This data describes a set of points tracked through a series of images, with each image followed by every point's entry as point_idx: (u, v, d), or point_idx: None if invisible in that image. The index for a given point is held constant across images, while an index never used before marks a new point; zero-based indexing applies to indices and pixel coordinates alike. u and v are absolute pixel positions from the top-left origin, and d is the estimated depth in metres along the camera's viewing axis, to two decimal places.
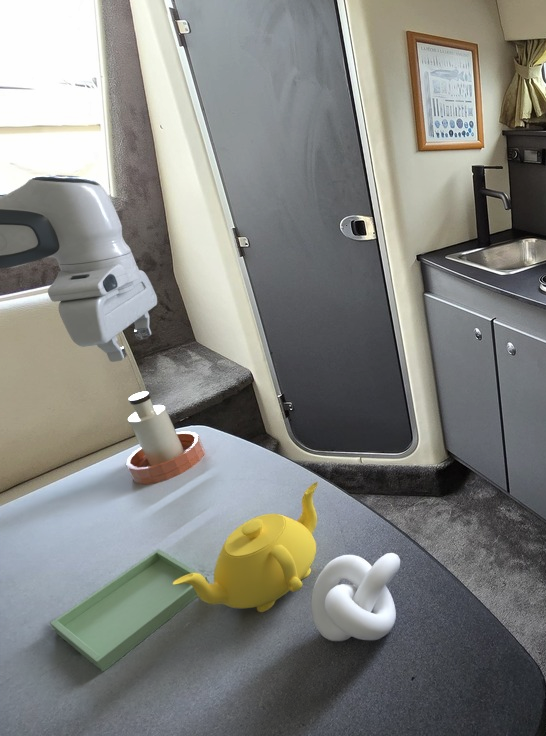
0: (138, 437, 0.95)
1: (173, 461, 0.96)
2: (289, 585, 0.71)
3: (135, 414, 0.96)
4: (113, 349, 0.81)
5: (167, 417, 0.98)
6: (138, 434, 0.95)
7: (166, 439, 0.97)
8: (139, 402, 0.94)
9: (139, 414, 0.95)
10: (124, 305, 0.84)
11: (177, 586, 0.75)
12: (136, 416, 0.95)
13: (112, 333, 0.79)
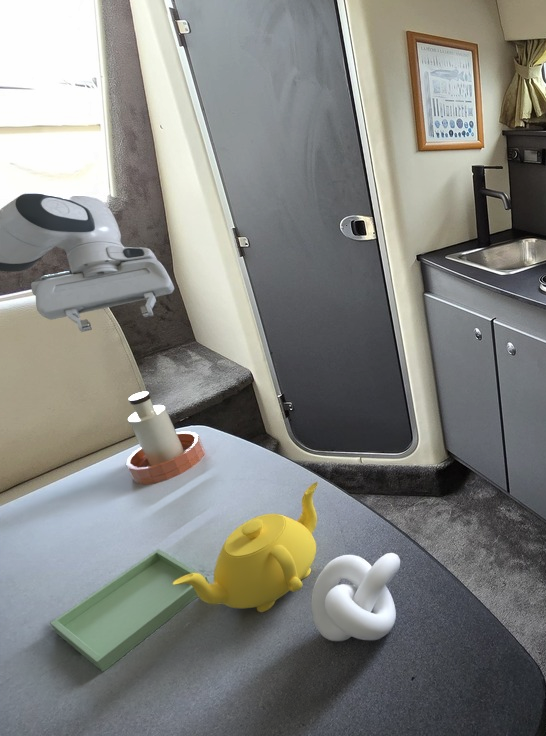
0: (138, 437, 0.95)
1: (173, 461, 0.96)
2: (289, 585, 0.71)
3: (135, 414, 0.96)
4: (152, 305, 1.03)
5: (167, 417, 0.98)
6: (138, 434, 0.95)
7: (166, 439, 0.97)
8: (139, 402, 0.94)
9: (139, 414, 0.95)
10: None
11: (177, 586, 0.75)
12: (136, 416, 0.95)
13: None
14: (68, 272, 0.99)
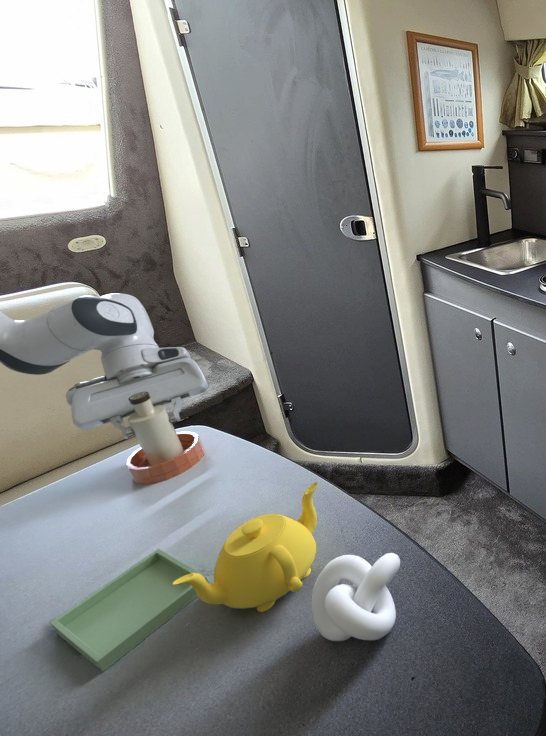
0: (138, 437, 0.95)
1: (173, 461, 0.96)
2: (289, 585, 0.71)
3: (135, 414, 0.96)
4: (179, 409, 1.01)
5: (167, 417, 0.98)
6: (138, 434, 0.95)
7: (165, 439, 0.97)
8: (139, 402, 0.94)
9: (139, 414, 0.95)
10: None
11: (177, 586, 0.75)
12: (136, 416, 0.95)
13: None
14: (103, 378, 0.97)
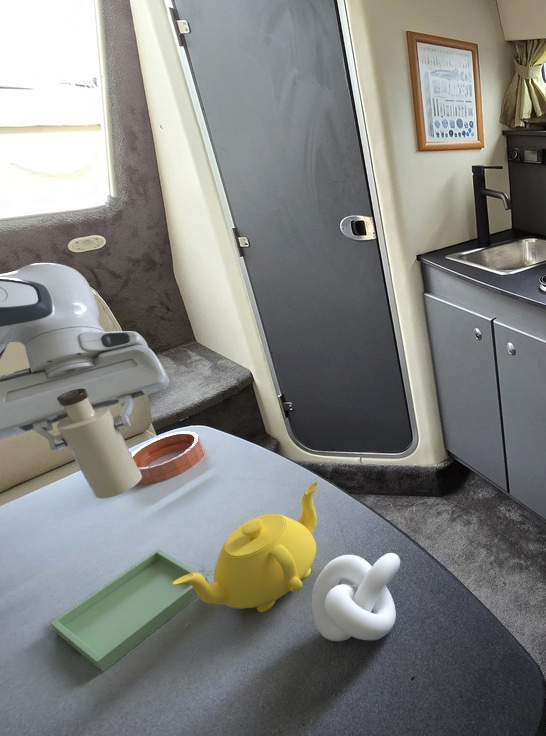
0: (71, 449, 0.72)
1: (173, 461, 0.96)
2: (289, 585, 0.71)
3: (68, 418, 0.73)
4: (130, 411, 0.77)
5: (111, 422, 0.74)
6: (71, 445, 0.72)
7: (109, 451, 0.74)
8: (72, 403, 0.71)
9: (72, 418, 0.72)
10: None
11: (177, 586, 0.75)
12: (69, 421, 0.72)
13: None
14: (26, 370, 0.74)
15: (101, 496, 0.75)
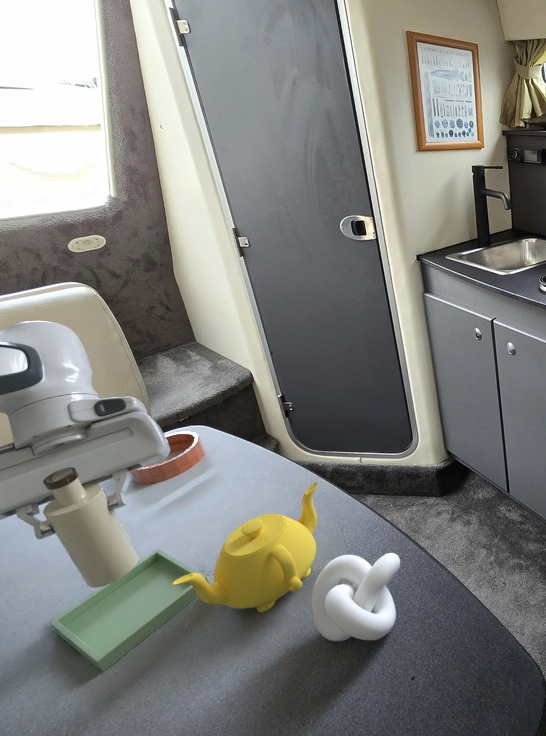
0: (59, 536, 0.64)
1: (173, 461, 0.96)
2: (289, 585, 0.71)
3: (56, 501, 0.65)
4: (126, 488, 0.69)
5: (104, 503, 0.67)
6: (59, 533, 0.64)
7: (102, 536, 0.66)
8: (60, 486, 0.63)
9: (60, 502, 0.64)
10: None
11: (177, 586, 0.75)
12: (56, 505, 0.64)
13: None
14: (10, 446, 0.66)
15: (93, 585, 0.67)
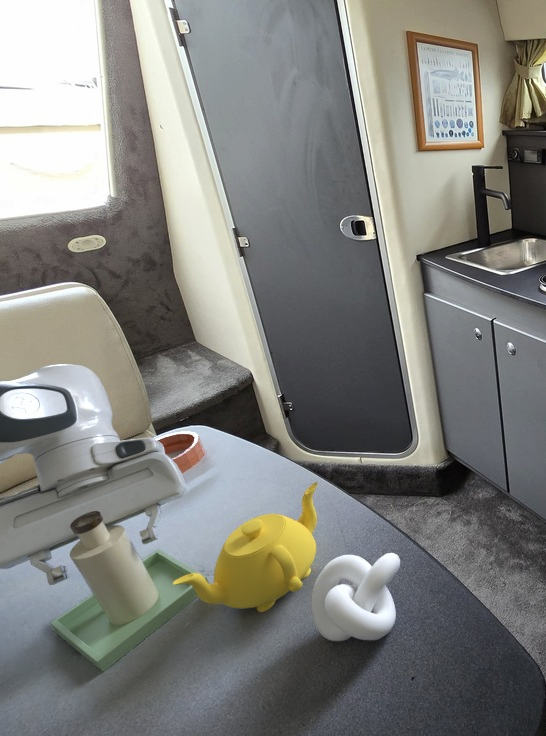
0: (85, 578, 0.67)
1: None
2: (289, 585, 0.71)
3: (81, 543, 0.68)
4: (157, 522, 0.73)
5: (127, 545, 0.69)
6: (85, 575, 0.66)
7: (125, 576, 0.69)
8: (86, 530, 0.66)
9: (86, 545, 0.67)
10: None
11: (177, 586, 0.75)
12: (82, 547, 0.67)
13: None
14: (35, 488, 0.69)
15: (116, 623, 0.70)
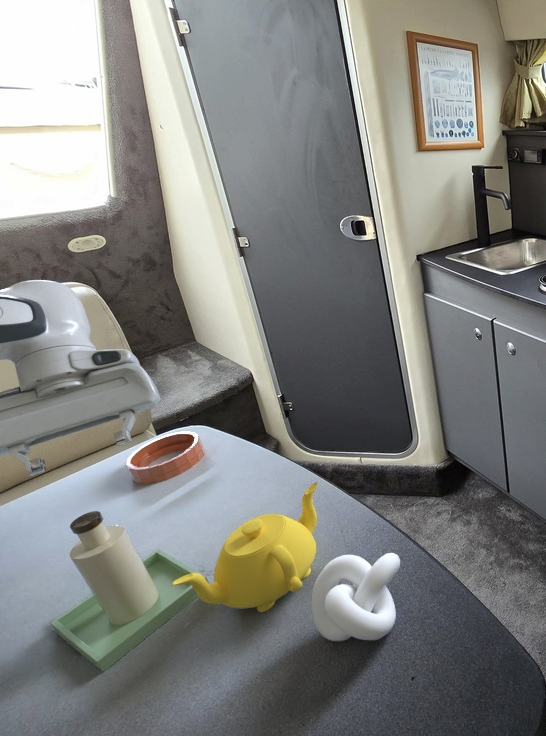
0: (85, 578, 0.67)
1: (173, 461, 0.96)
2: (289, 585, 0.71)
3: (81, 543, 0.68)
4: (131, 427, 0.78)
5: (127, 545, 0.69)
6: (85, 575, 0.66)
7: (125, 576, 0.69)
8: (86, 530, 0.66)
9: (86, 545, 0.67)
10: None
11: (177, 586, 0.75)
12: (82, 547, 0.67)
13: None
14: (16, 389, 0.74)
15: (116, 623, 0.70)
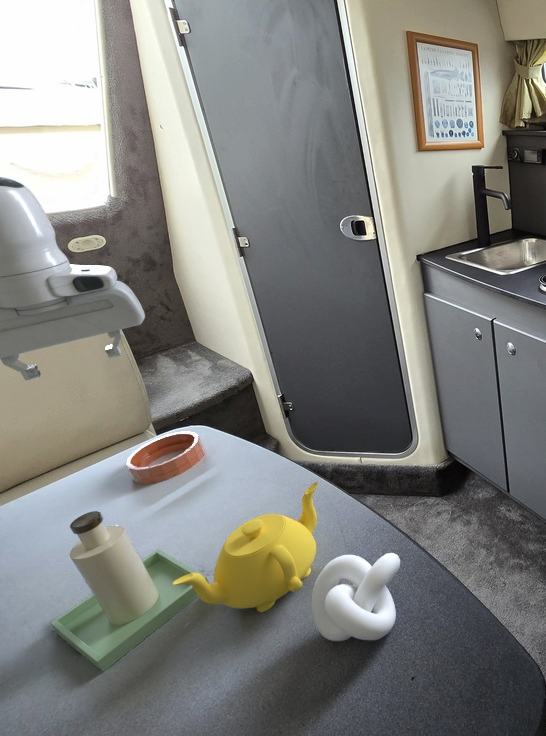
0: (85, 578, 0.67)
1: (173, 461, 0.96)
2: (289, 585, 0.71)
3: (81, 543, 0.68)
4: None
5: (127, 545, 0.69)
6: (85, 575, 0.66)
7: (125, 576, 0.69)
8: (86, 530, 0.66)
9: (86, 545, 0.67)
10: None
11: (177, 586, 0.75)
12: (82, 547, 0.67)
13: None
14: None
15: (116, 623, 0.70)
